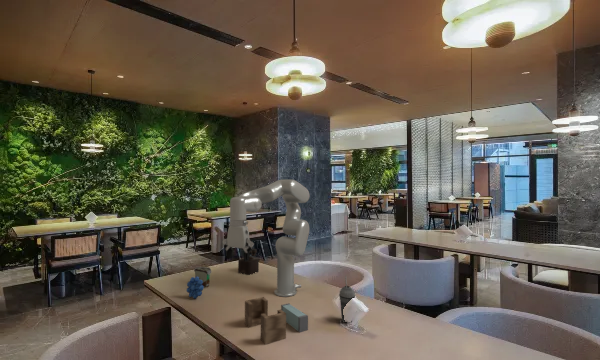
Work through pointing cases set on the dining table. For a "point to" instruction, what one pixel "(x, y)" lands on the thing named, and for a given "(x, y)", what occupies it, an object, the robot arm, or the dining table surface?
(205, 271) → the food container
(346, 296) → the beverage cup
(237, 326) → the dining table surface
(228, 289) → the dining table surface
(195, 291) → the grapes
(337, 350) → the dining table surface
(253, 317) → the notched wooden uprights
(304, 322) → the rail
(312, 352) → the dining table surface
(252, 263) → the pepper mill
